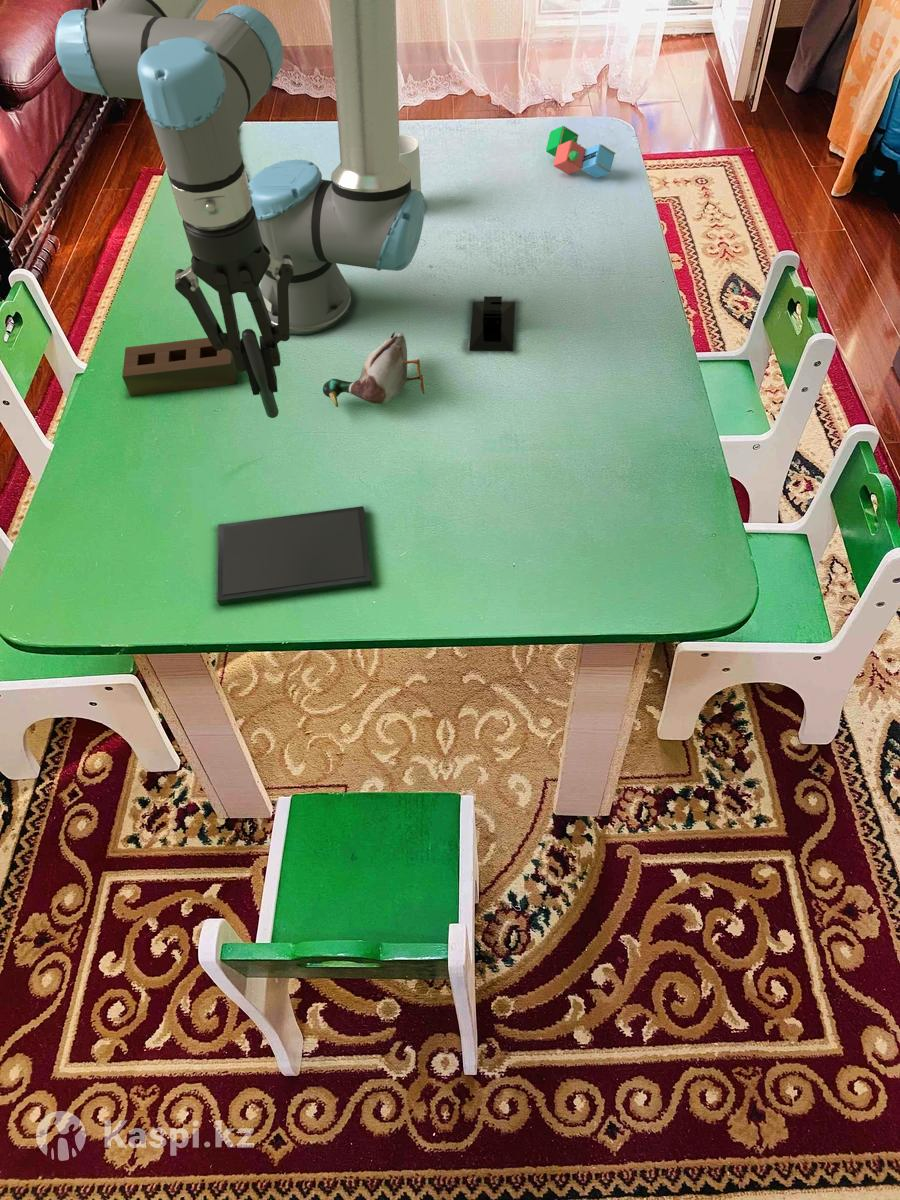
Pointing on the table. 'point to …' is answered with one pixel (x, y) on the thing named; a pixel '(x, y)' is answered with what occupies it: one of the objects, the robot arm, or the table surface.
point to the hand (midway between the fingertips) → (264, 386)
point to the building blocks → (578, 154)
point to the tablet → (292, 555)
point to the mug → (411, 159)
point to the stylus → (259, 372)
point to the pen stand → (177, 367)
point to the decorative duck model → (378, 374)
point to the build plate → (492, 325)
